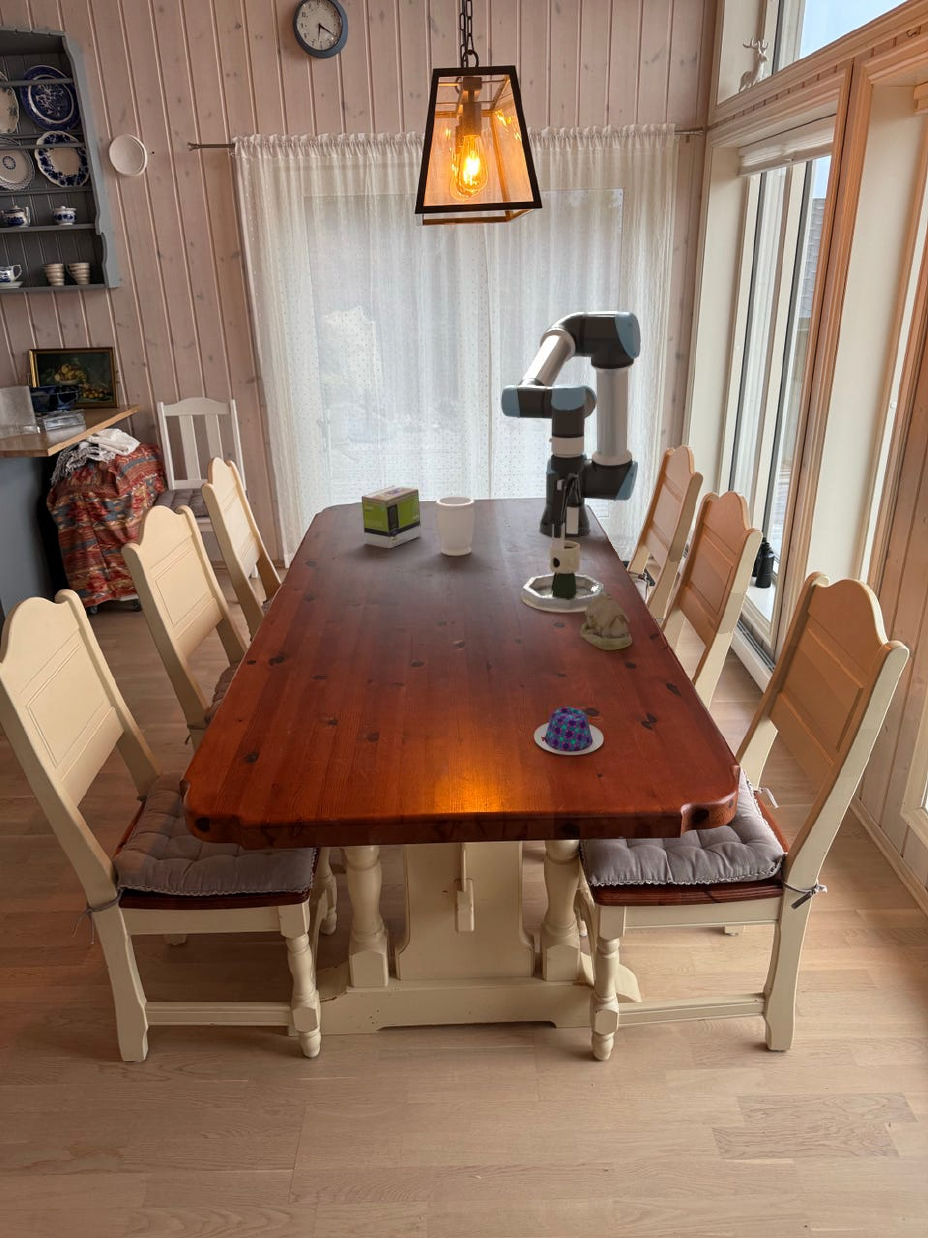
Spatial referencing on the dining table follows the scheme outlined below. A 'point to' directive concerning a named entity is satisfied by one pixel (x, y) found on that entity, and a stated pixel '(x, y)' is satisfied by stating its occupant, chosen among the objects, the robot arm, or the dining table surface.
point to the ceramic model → (606, 624)
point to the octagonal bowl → (542, 598)
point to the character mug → (565, 569)
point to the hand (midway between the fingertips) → (565, 541)
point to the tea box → (391, 516)
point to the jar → (455, 524)
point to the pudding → (569, 733)
